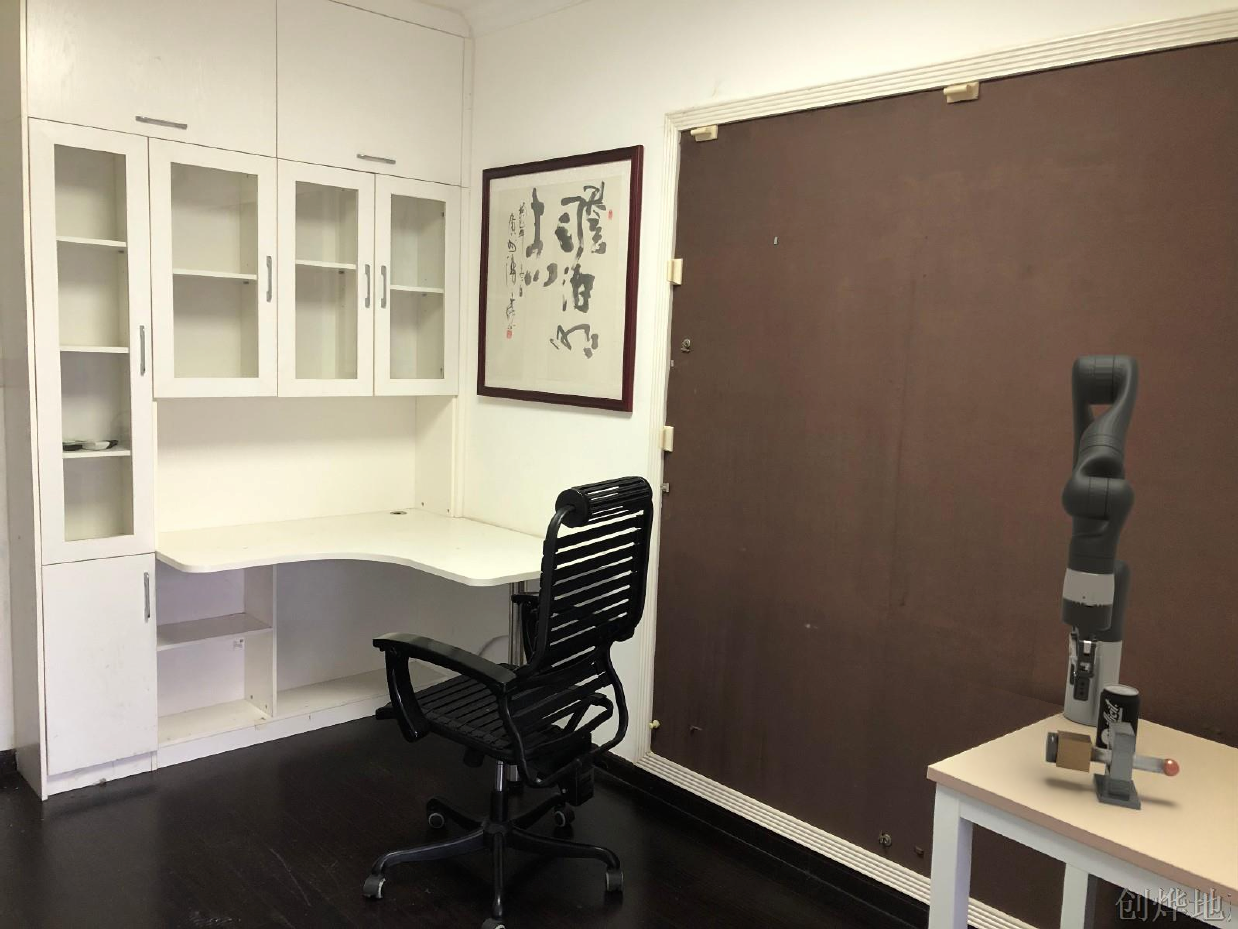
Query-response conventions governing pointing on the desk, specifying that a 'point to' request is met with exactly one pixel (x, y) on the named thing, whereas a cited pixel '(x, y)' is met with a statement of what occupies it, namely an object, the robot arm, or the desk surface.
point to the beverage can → (1116, 710)
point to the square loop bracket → (1119, 769)
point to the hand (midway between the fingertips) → (1078, 692)
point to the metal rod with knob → (1096, 755)
